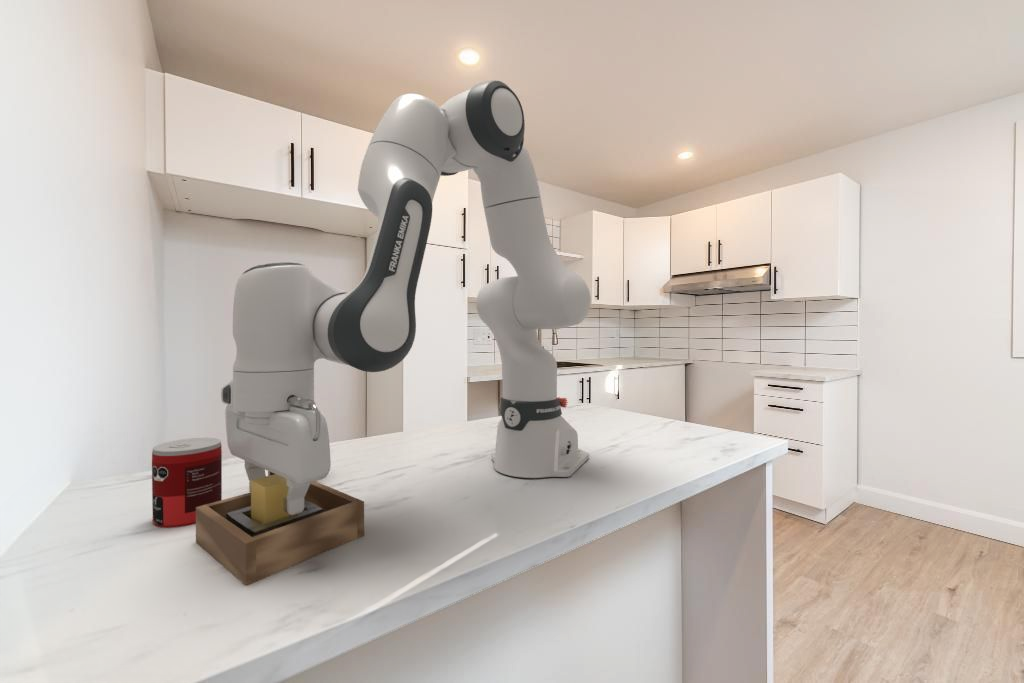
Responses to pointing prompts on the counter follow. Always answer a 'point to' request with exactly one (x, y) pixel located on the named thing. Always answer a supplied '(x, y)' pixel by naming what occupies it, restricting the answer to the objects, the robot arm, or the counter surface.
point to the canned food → (185, 479)
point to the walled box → (278, 534)
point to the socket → (252, 528)
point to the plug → (268, 498)
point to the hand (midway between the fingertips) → (275, 502)
